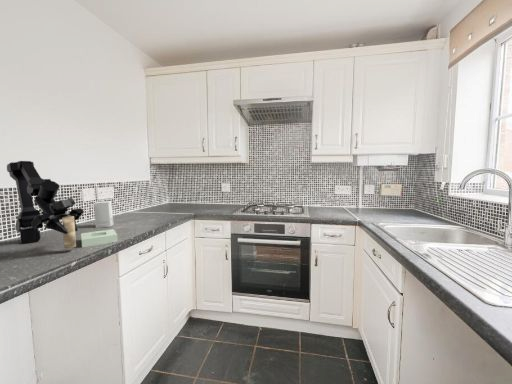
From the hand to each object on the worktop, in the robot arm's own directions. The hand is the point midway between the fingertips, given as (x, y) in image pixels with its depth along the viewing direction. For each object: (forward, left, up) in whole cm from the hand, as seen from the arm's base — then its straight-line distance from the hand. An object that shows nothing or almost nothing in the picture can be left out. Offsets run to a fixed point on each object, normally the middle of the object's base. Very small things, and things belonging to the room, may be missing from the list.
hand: (71, 231), depth 100 cm
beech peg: (-1, +1, -7) cm, 7 cm away
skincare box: (+15, +46, -9) cm, 49 cm away
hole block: (+10, +11, -8) cm, 17 cm away
